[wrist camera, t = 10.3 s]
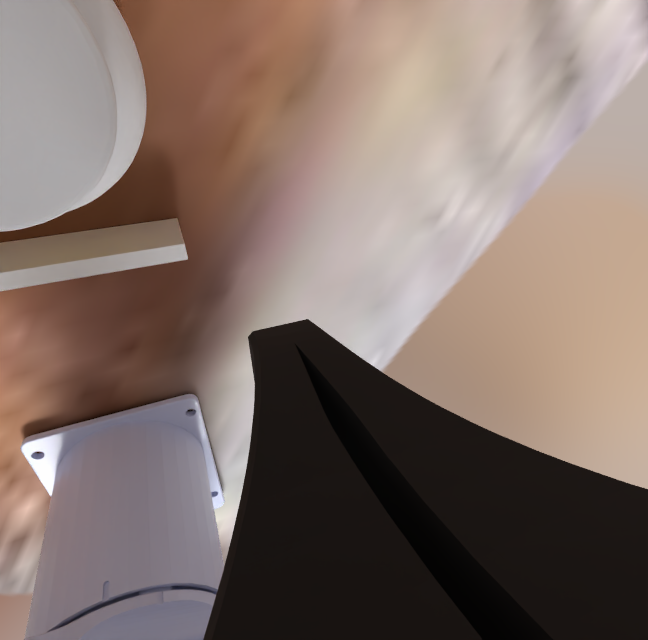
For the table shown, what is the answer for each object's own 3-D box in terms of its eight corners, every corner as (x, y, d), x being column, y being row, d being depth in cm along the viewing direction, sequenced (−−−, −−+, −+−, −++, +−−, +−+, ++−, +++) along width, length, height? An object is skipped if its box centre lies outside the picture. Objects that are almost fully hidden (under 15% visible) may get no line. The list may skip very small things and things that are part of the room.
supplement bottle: (-155, -2, 10) (-715, -118, 3) (37, -92, 11) (-57, -361, 4) (21, 185, 14) (-50, 335, 7) (159, 108, 15) (232, 169, 7)
